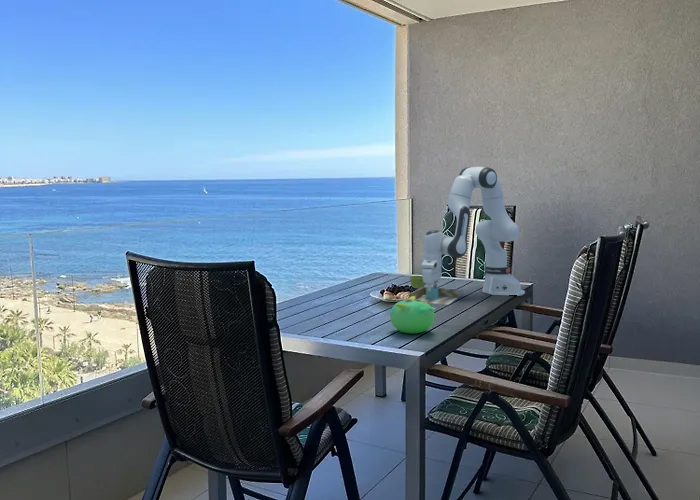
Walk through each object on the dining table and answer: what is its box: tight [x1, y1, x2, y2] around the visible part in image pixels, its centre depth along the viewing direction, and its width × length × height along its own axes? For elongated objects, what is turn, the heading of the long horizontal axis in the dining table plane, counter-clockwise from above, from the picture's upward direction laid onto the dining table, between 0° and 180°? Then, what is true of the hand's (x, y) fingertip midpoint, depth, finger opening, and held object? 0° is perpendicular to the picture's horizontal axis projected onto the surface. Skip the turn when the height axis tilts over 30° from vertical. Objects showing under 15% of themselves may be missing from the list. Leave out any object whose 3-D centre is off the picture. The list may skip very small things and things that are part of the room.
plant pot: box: [409, 275, 426, 289], centre depth 345 cm, size 9×9×9 cm
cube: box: [426, 286, 439, 299], centre depth 325 cm, size 5×5×5 cm
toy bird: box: [389, 296, 437, 334], centre depth 258 cm, size 18×17×15 cm
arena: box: [408, 286, 460, 306], centre depth 323 cm, size 20×20×5 cm
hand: (432, 289), depth 326 cm, fingers open, 8 cm apart
